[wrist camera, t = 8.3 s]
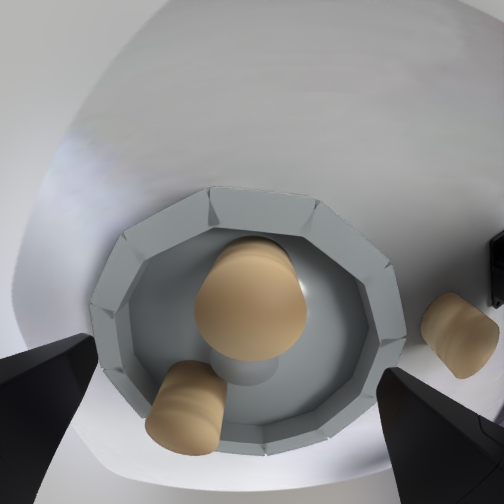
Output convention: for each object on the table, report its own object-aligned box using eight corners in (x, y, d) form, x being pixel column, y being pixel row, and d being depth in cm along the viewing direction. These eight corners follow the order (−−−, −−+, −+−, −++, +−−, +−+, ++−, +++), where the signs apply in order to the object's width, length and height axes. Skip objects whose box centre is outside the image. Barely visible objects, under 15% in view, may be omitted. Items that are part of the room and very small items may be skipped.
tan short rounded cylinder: (208, 352, 17) (192, 406, 12) (238, 397, 18) (232, 451, 13) (155, 368, 17) (130, 416, 13) (186, 408, 18) (172, 457, 14)
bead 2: (287, 313, 16) (296, 365, 11) (212, 305, 16) (193, 354, 11) (298, 239, 15) (316, 269, 10) (217, 231, 15) (196, 256, 10)
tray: (330, 138, 14) (345, 129, 11) (400, 379, 18) (414, 402, 16) (72, 265, 17) (47, 279, 14) (197, 442, 21) (191, 466, 18)
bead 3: (461, 282, 16) (501, 309, 11) (463, 326, 17) (496, 357, 12) (417, 308, 17) (453, 344, 12) (422, 351, 18) (451, 389, 13)
